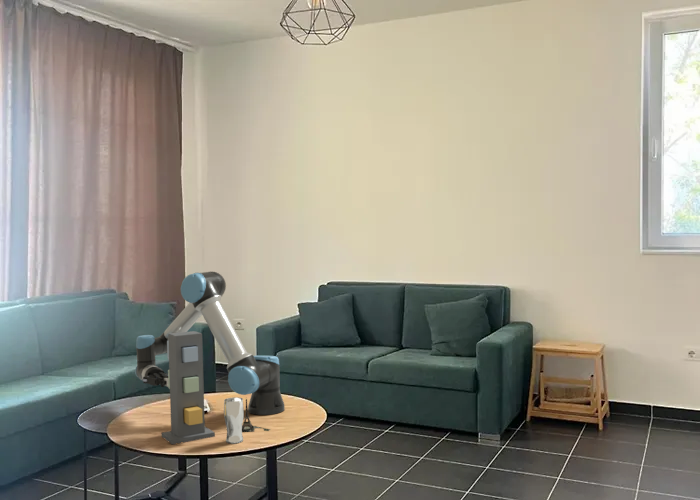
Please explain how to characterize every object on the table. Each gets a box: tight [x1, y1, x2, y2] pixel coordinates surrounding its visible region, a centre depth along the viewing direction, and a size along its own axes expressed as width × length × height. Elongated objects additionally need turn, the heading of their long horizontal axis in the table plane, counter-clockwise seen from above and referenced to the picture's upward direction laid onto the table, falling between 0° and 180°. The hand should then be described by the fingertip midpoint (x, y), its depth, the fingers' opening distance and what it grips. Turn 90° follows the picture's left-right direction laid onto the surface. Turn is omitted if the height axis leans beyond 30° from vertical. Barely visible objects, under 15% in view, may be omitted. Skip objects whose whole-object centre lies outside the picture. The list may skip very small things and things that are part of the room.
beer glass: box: [223, 396, 245, 445], centre depth 243 cm, size 7×7×15 cm
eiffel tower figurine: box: [226, 398, 271, 433], centre depth 257 cm, size 15×10×13 cm
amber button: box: [183, 406, 203, 425], centre depth 250 cm, size 16×7×7 cm, turn 32°
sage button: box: [167, 369, 199, 393], centre depth 252 cm, size 16×7×7 cm, turn 32°
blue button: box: [167, 341, 198, 362], centre depth 252 cm, size 16×7×7 cm, turn 32°
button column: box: [161, 330, 216, 445], centre depth 250 cm, size 12×16×38 cm
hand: (171, 383), depth 263 cm, fingers closed
